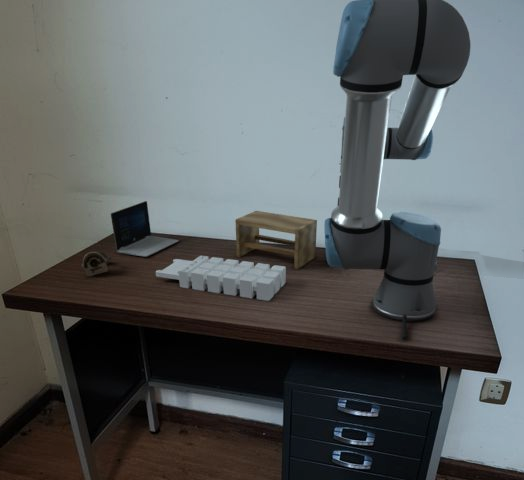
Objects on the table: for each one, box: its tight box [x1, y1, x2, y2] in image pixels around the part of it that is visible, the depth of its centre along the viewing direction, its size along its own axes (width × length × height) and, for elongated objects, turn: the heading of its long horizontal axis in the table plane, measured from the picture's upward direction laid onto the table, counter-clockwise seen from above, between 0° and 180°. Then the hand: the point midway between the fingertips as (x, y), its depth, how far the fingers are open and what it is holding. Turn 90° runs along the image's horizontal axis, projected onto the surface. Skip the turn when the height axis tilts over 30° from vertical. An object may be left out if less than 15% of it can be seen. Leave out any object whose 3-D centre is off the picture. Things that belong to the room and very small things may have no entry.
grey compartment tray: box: [155, 255, 287, 302], centre depth 140 cm, size 13×5×35 cm
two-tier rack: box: [234, 210, 318, 270], centre depth 156 cm, size 12×22×12 cm, turn 58°
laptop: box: [110, 200, 180, 258], centre depth 165 cm, size 18×12×13 cm
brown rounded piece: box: [80, 250, 113, 277], centre depth 149 cm, size 7×13×10 cm
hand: (347, 248), depth 153 cm, fingers open, 11 cm apart
